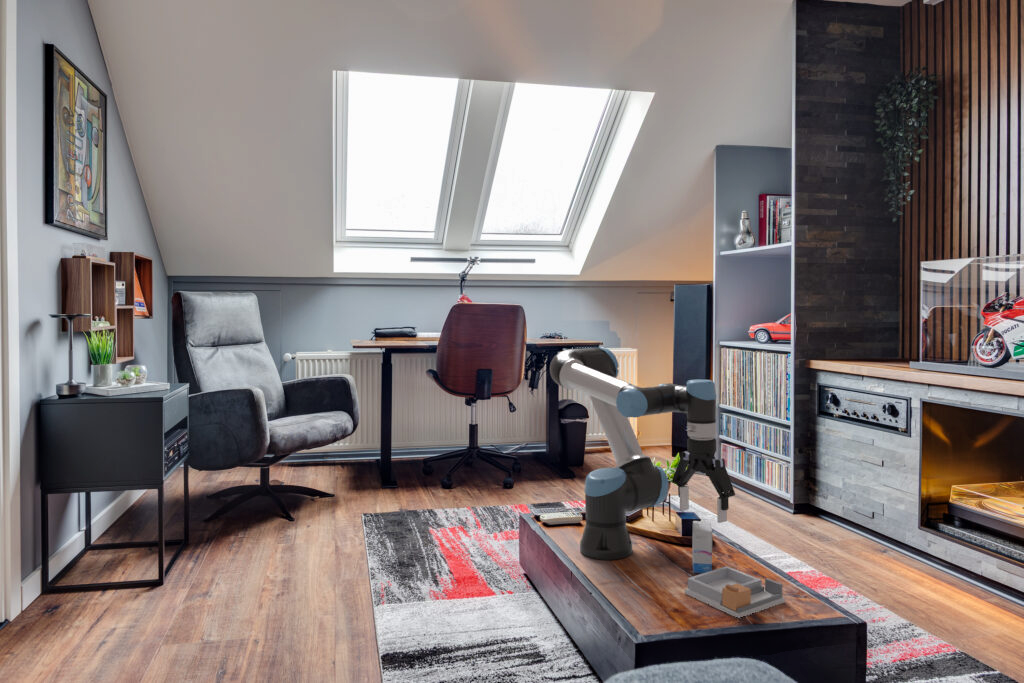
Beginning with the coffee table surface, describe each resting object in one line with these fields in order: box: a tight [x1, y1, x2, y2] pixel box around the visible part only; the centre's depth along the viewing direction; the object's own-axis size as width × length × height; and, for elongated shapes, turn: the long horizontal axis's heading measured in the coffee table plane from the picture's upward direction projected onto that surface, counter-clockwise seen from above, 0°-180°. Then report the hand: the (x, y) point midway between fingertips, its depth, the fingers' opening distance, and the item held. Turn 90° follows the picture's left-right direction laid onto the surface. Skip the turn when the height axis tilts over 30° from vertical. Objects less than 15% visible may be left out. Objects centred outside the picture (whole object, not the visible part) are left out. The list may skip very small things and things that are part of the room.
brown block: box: [722, 583, 751, 611], centre depth 168 cm, size 4×5×5 cm
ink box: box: [691, 520, 713, 574], centre depth 195 cm, size 9×5×12 cm, turn 168°
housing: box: [684, 565, 786, 619], centre depth 175 cm, size 17×16×4 cm
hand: (702, 515), depth 194 cm, fingers open, 13 cm apart
